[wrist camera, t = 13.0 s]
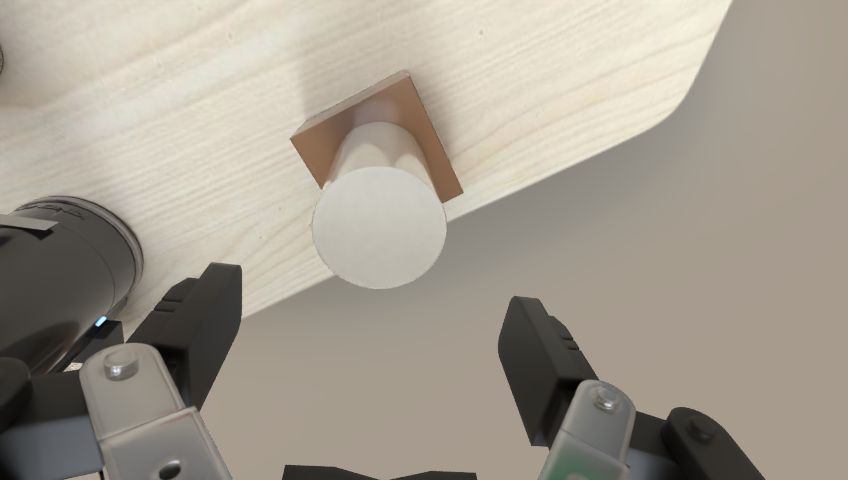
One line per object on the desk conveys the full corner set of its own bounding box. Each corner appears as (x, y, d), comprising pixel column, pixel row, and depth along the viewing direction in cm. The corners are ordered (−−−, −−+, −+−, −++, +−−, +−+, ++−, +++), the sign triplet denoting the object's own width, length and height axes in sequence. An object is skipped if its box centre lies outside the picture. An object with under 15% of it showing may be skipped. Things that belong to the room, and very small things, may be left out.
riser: (359, 212, 35) (356, 245, 29) (305, 121, 31) (289, 138, 26) (450, 168, 34) (463, 193, 28) (404, 68, 30) (409, 75, 25)
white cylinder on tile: (416, 214, 29) (433, 295, 20) (331, 202, 28) (306, 282, 19) (432, 129, 26) (459, 177, 17) (339, 113, 26) (317, 155, 16)
